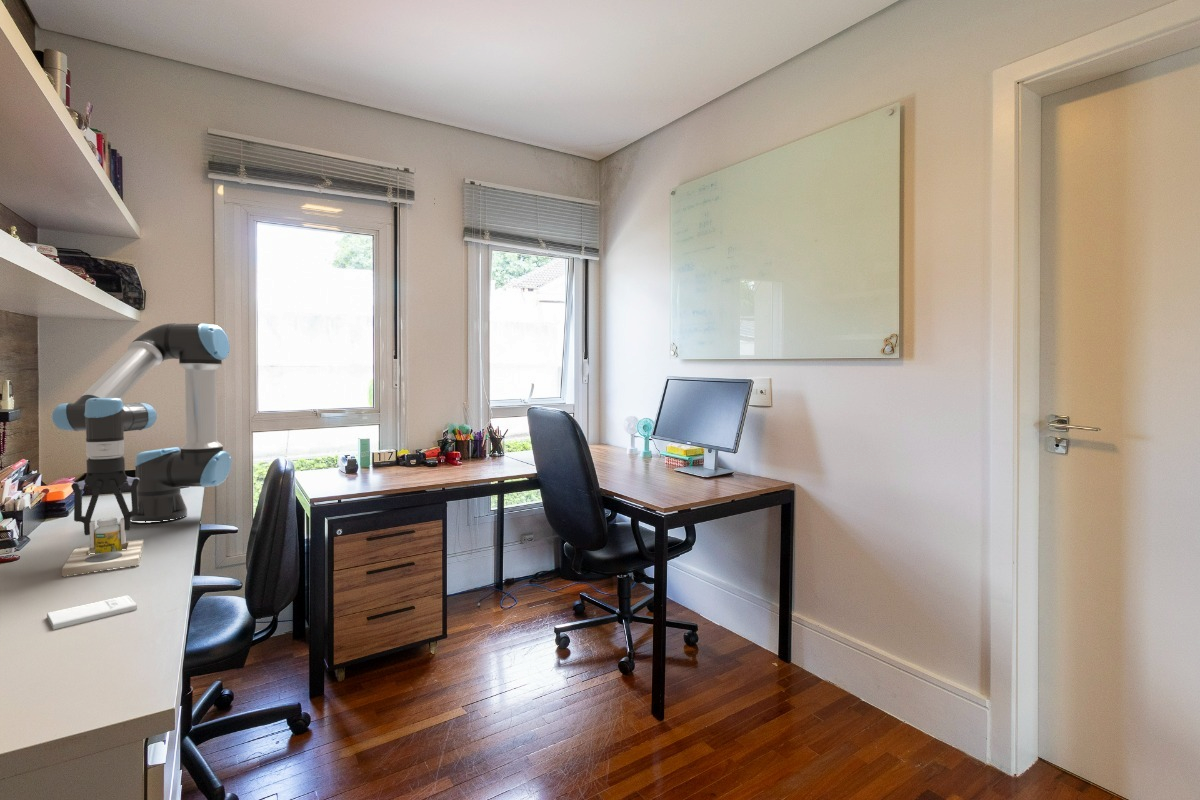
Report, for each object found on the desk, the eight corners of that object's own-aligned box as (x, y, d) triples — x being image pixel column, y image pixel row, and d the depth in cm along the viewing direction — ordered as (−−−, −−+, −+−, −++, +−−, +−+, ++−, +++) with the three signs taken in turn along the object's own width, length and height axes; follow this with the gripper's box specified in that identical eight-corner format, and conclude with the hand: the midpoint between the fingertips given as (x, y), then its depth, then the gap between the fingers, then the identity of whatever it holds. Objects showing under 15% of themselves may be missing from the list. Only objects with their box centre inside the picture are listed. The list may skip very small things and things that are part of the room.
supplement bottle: (124, 551, 154) (123, 515, 154) (118, 556, 149) (117, 520, 149) (99, 553, 152) (98, 517, 151) (91, 559, 147) (90, 522, 147)
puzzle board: (75, 555, 151) (75, 546, 151) (143, 546, 159) (143, 538, 159) (62, 577, 135) (62, 567, 134) (138, 566, 143) (138, 556, 143)
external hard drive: (47, 620, 112) (127, 601, 122) (53, 632, 107) (137, 611, 116) (46, 612, 112) (127, 593, 122) (53, 623, 107) (137, 603, 116)
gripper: (54, 461, 141) (58, 554, 142) (149, 455, 152) (152, 542, 153) (60, 457, 147) (63, 547, 148) (151, 452, 158) (153, 535, 159)
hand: (108, 544), depth 150 cm, fingers closed on supplement bottle, 5 cm apart
